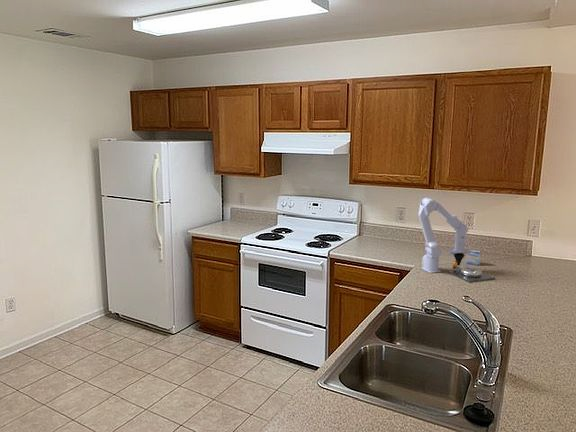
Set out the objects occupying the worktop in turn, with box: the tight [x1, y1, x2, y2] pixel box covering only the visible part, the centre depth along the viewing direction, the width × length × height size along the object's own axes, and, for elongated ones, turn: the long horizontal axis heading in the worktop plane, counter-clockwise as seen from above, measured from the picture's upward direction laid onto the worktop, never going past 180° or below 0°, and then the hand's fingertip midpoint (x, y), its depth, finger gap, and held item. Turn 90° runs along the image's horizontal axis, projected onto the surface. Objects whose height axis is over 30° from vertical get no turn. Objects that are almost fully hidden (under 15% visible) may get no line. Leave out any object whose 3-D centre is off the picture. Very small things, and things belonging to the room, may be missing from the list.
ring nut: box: [452, 260, 482, 277], centre depth 257 cm, size 18×11×4 cm, turn 32°
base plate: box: [447, 269, 496, 284], centre depth 255 cm, size 18×18×1 cm
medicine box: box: [465, 249, 482, 266], centre depth 278 cm, size 8×4×9 cm, turn 62°
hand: (458, 265), depth 265 cm, fingers closed
